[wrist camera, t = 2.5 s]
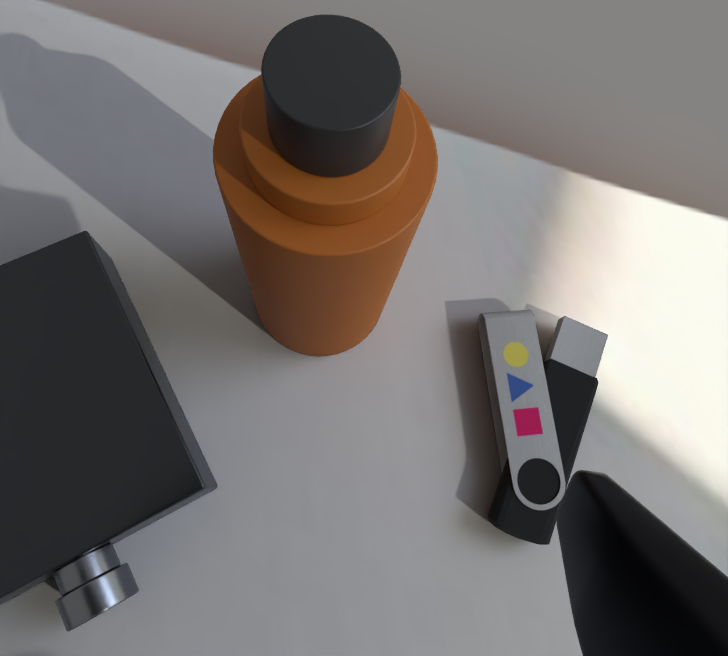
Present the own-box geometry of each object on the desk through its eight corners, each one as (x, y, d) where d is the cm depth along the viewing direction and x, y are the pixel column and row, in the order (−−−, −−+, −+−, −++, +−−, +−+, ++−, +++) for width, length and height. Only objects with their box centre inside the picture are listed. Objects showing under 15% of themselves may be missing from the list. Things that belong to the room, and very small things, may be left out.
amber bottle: (408, 306, 22) (524, 101, 10) (307, 382, 21) (304, 251, 9) (331, 212, 23) (354, -79, 11) (228, 281, 22) (130, 37, 10)
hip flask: (-129, 360, 20) (-192, 342, 17) (111, 258, 22) (85, 228, 19) (-17, 678, 18) (-71, 710, 15) (240, 533, 20) (230, 541, 17)
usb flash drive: (540, 548, 20) (551, 551, 19) (410, 490, 20) (415, 490, 19) (603, 342, 23) (615, 336, 22) (486, 291, 23) (494, 282, 22)
